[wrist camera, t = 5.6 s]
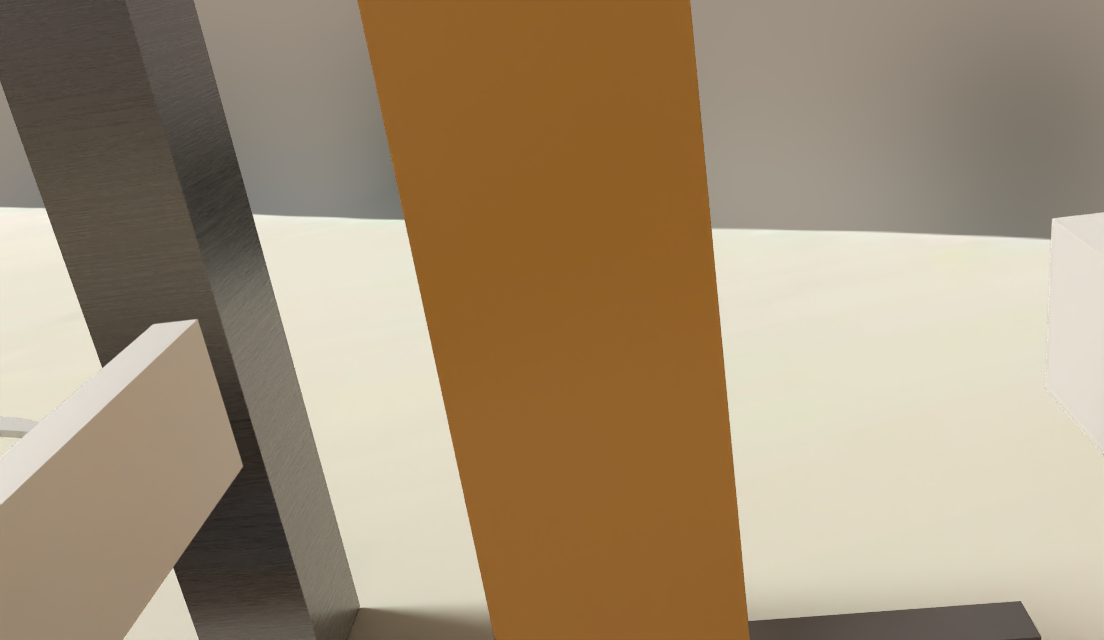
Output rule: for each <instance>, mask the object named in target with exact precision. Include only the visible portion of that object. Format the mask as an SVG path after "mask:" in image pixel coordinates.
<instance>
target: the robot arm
mask: <svg viewBox="0 0 1104 640" xmlns="http://www.w3.org/2000/svg"><path fill="white" fill-rule="evenodd" d="M1045 389H1046V390H1047V391H1048V392H1049V394H1050V395H1051V396H1052V397H1053V398H1054V399H1055V400H1056V402H1057V403H1058V404H1059V405H1060V406H1061V407H1062V408H1063V410H1064V411H1065V412H1066V413H1067V414H1068V415H1069V416H1070V418H1071V419H1072V420H1073V421H1074V422H1075V423H1076V424H1077V425H1078V427H1079V428H1080V429H1081V430H1082V431H1083V432H1084V433H1085V435H1086V436H1087V437H1088V438H1089V439H1090V440H1091V441H1092V443H1093V444H1094V445H1095V446H1096V447H1097V448H1098V449H1099V451H1100V452H1101V453H1102V454H1103V455H1104V213H1095V214H1087V215H1079V216H1069V217H1061V218H1053V219H1052V235H1051V258H1050V282H1049V305H1048V328H1047V352H1046V375H1045ZM242 467H243V464H242V461H241V458H240V454H239V451H238V448H237V445H236V441H235V438H234V435H233V432H232V428H231V425H230V422H229V419H228V416H227V412H226V409H225V406H224V403H223V399H222V396H221V393H220V390H219V386H218V383H217V380H216V377H215V373H214V370H213V367H212V364H211V361H210V357H209V354H208V351H207V348H206V344H205V341H204V338H203V335H202V331H201V328H200V325H199V322H198V319H193V320H185V321H176V322H168V323H159V324H153V325H152V326H151V327H149V328H148V329H147V330H146V331H145V332H144V333H142V334H141V335H140V336H139V337H138V338H137V339H136V340H134V341H133V342H132V343H131V344H130V345H129V346H127V347H126V348H125V349H124V350H123V351H122V352H121V353H119V354H118V355H117V356H116V357H115V358H114V359H112V360H111V361H110V362H109V363H108V364H107V365H106V366H104V367H103V368H102V369H101V370H100V371H99V372H97V373H96V374H95V375H94V376H93V377H92V378H90V379H89V380H88V381H87V382H86V383H85V384H84V385H82V386H81V387H80V388H79V389H78V390H77V391H75V392H74V393H73V394H72V395H71V396H70V397H69V398H67V399H66V400H65V401H64V402H63V403H62V404H60V405H59V406H58V407H57V408H56V409H55V410H54V411H52V412H51V413H50V414H49V415H48V416H47V417H45V418H44V419H43V420H42V421H41V422H40V423H39V424H37V425H36V426H35V427H34V428H33V429H32V430H30V431H29V432H28V433H27V434H26V435H25V436H23V437H22V438H21V439H20V440H19V441H18V442H17V443H15V444H14V445H13V446H12V447H11V448H10V449H8V450H7V451H6V452H5V453H4V454H3V455H2V456H0V640H123V638H124V637H125V636H126V634H127V633H128V631H129V630H130V628H131V627H132V625H133V624H134V623H135V621H136V620H137V618H138V617H139V615H140V614H141V613H142V611H143V610H144V608H145V607H146V605H147V604H148V602H149V601H150V600H151V598H152V597H153V595H154V594H155V592H156V591H157V590H158V588H159V587H160V585H161V584H162V582H163V581H164V579H165V578H166V577H167V575H168V574H169V572H170V571H171V569H172V568H173V567H174V565H175V564H176V562H177V561H178V559H179V558H180V556H181V555H182V554H183V552H184V551H185V549H186V548H187V546H188V545H189V544H190V542H191V541H192V539H193V538H194V536H195V535H196V533H197V532H198V531H199V529H200V528H201V526H202V525H203V523H204V522H205V521H206V519H207V518H208V516H209V515H210V513H211V512H212V510H213V509H214V508H215V506H216V505H217V503H218V502H219V500H220V499H221V498H222V496H223V495H224V493H225V492H226V490H227V489H228V487H229V486H230V485H231V483H232V482H233V480H234V479H235V477H236V476H237V475H238V473H239V472H240V470H241V469H242Z"/></svg>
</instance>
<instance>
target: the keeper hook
mask: <svg viewBox="0 0 1104 640" xmlns="http://www.w3.org/2000/svg"><path fill="white" fill-rule="evenodd" d="M0 82H1V84H2V87H3V90H4V93H5V96H6V98H7V101H8V104H9V107H10V110H11V113H12V115H13V118H14V121H15V124H16V126H17V129H18V132H19V135H20V138H21V141H22V143H23V146H24V149H25V152H26V155H27V158H28V160H29V163H30V166H31V168H32V172H33V174H34V177H35V180H36V183H37V186H38V188H39V191H40V194H41V197H42V199H43V202H44V205H45V208H46V211H47V214H48V217H49V219H50V222H51V225H52V228H53V231H54V233H55V236H56V239H57V242H58V245H59V247H60V250H61V253H62V256H63V259H64V261H65V264H66V267H67V270H68V273H69V276H70V278H71V281H72V284H73V287H74V290H75V292H76V295H77V298H78V301H79V304H80V306H81V309H82V312H83V315H84V318H85V320H86V323H87V326H88V329H89V332H90V335H91V337H92V340H93V343H94V346H95V349H96V351H97V354H98V357H99V360H100V363H101V365H102V368H103V367H104V366H106V365H107V364H108V363H109V362H110V361H111V360H112V359H114V358H115V357H116V356H117V355H118V354H119V353H121V352H122V351H123V350H124V349H125V348H126V347H127V346H129V345H130V344H131V343H132V342H133V341H134V340H136V339H137V338H138V337H139V336H140V335H141V334H142V333H144V332H145V331H146V330H147V329H148V328H149V327H151V326H152V325H153V324H159V323H168V322H176V321H185V320H193V319H198V322H199V325H200V328H201V331H202V335H203V338H204V341H205V344H206V348H207V351H208V354H209V357H210V361H211V364H212V367H213V370H214V373H215V377H216V380H217V383H218V386H219V390H220V393H221V396H222V399H223V403H224V406H225V409H226V412H227V416H228V419H229V422H230V425H231V428H232V432H233V435H234V438H235V441H236V445H237V448H238V451H239V454H240V458H241V461H242V464H243V467H242V469H241V470H240V472H239V473H238V475H237V476H236V477H235V479H234V480H233V482H232V483H231V485H230V486H229V487H228V489H227V490H226V492H225V493H224V495H223V496H222V498H221V499H220V500H219V502H218V503H217V505H216V506H215V508H214V509H213V510H212V512H211V513H210V515H209V516H208V518H207V519H206V521H205V522H204V523H203V525H202V526H201V528H200V529H199V531H198V532H197V533H196V535H195V536H194V538H193V539H192V541H191V542H190V544H189V545H188V546H187V548H186V549H185V551H184V552H183V554H182V555H181V556H180V558H179V559H178V561H177V562H176V564H175V565H174V567H173V568H174V571H175V573H176V576H177V579H178V582H179V585H180V587H181V590H182V593H183V596H184V599H185V601H186V604H187V607H188V610H189V613H190V615H191V618H192V621H193V624H194V627H195V629H196V632H197V635H198V638H199V640H347V638H348V636H349V633H350V631H351V628H352V625H353V623H354V620H355V618H356V615H357V612H358V610H359V607H360V604H359V601H358V597H357V594H356V590H355V586H354V583H353V579H352V575H351V572H350V568H349V564H348V561H347V557H346V554H345V550H344V546H343V543H342V539H341V535H340V532H339V528H338V524H337V521H336V517H335V514H334V510H333V506H332V503H331V499H330V495H329V492H328V488H327V484H326V481H325V477H324V474H323V470H322V466H321V463H320V459H319V455H318V452H317V448H316V444H315V441H314V437H313V433H312V430H311V426H310V423H309V419H308V415H307V412H306V408H305V404H304V401H303V397H302V393H301V390H300V386H299V383H298V379H297V375H296V372H295V368H294V364H293V361H292V357H291V353H290V350H289V346H288V343H287V339H286V335H285V332H284V328H283V324H282V321H281V317H280V313H279V310H278V306H277V303H276V299H275V295H274V292H273V288H272V284H271V281H270V277H269V273H268V270H267V266H266V262H265V259H264V255H263V252H262V248H261V244H260V241H259V237H258V233H257V230H256V226H255V222H254V219H253V215H252V212H251V208H250V204H249V201H248V197H247V193H246V190H245V186H244V183H243V179H242V175H241V172H240V168H239V164H238V161H237V157H236V153H235V150H234V146H233V142H232V139H231V135H230V132H229V128H228V124H227V121H226V117H225V113H224V110H223V106H222V102H221V99H220V95H219V91H218V88H217V84H216V81H215V77H214V74H213V70H212V66H211V63H210V59H209V55H208V51H207V48H206V44H205V41H204V37H203V33H202V30H201V26H200V23H199V19H198V15H197V11H196V8H195V4H194V1H193V0H0Z"/></svg>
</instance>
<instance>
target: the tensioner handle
mask: <svg viewBox="0 0 1104 640" xmlns="http://www.w3.org/2000/svg"><path fill="white" fill-rule="evenodd" d="M358 5H359V9H360V14H361V19H362V23H363V28H364V33H365V37H366V42H367V46H368V50H369V55H370V60H371V65H372V70H373V74H374V79H375V84H376V88H377V93H378V98H379V102H380V107H381V112H382V116H383V121H384V126H385V130H386V135H387V140H388V144H389V149H390V153H391V158H392V162H393V167H394V172H395V177H396V182H397V185H398V191H399V195H400V200H401V205H402V209H403V214H404V219H405V223H406V228H407V233H408V237H409V242H410V247H411V251H412V256H413V261H414V265H415V270H416V275H417V279H418V284H419V289H420V293H421V298H422V303H423V307H424V312H425V316H426V321H427V326H428V330H429V335H430V340H431V344H432V349H433V354H434V358H435V363H436V368H437V372H438V377H439V382H440V386H441V391H442V396H443V400H444V405H445V410H446V414H447V419H448V424H449V428H450V433H451V438H452V442H453V447H454V451H455V456H456V461H457V465H458V470H459V475H460V479H461V484H462V489H463V493H464V498H465V503H466V507H467V512H468V517H469V521H470V526H471V531H472V535H473V540H474V545H475V549H476V554H477V559H478V563H479V568H480V572H481V577H482V582H483V586H484V591H485V596H486V600H487V605H488V610H489V614H490V619H491V624H492V628H493V633H494V638H495V640H750V637H749V626H748V615H747V605H746V594H745V583H744V572H743V562H742V551H741V540H740V530H739V519H738V508H737V497H736V487H735V476H734V465H733V455H732V444H731V433H730V422H729V412H728V401H727V390H726V380H725V369H724V358H723V347H722V337H721V326H720V315H719V305H718V294H717V283H716V272H715V262H714V251H713V240H712V230H711V220H710V208H709V197H708V187H707V176H706V166H705V155H704V144H703V133H702V124H701V123H702V122H701V112H700V101H699V91H698V80H697V69H696V58H695V47H694V37H693V26H692V15H691V5H690V0H358Z"/></svg>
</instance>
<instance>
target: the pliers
mask: <svg viewBox="0 0 1104 640" xmlns="http://www.w3.org/2000/svg"><path fill="white" fill-rule="evenodd" d="M37 424H39V422H36V421H32V420H27V419H21V418H12V417H0V437H16V438H22V437H23V436H25V435H26V434H27V433H28V432H29V431H30V430H32V429H33V428H34V427H35V426H36V425H37Z"/></svg>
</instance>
